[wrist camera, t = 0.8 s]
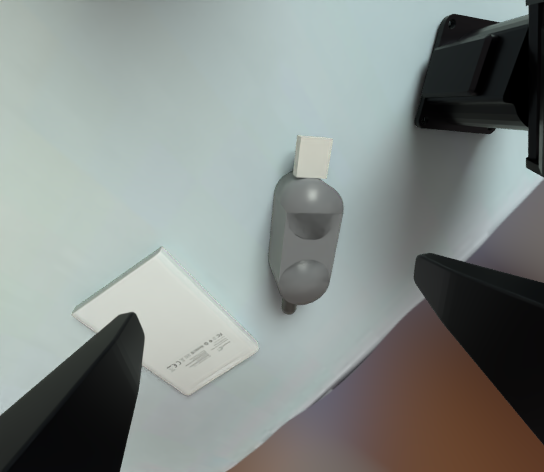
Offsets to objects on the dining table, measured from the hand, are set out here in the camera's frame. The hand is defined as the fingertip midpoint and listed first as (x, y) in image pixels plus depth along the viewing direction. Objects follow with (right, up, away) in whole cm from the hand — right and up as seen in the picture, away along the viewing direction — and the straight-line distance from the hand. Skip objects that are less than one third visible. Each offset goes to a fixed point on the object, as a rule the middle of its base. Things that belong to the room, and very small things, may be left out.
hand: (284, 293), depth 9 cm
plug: (+1, +3, +13) cm, 13 cm away
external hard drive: (-8, -5, +15) cm, 18 cm away
